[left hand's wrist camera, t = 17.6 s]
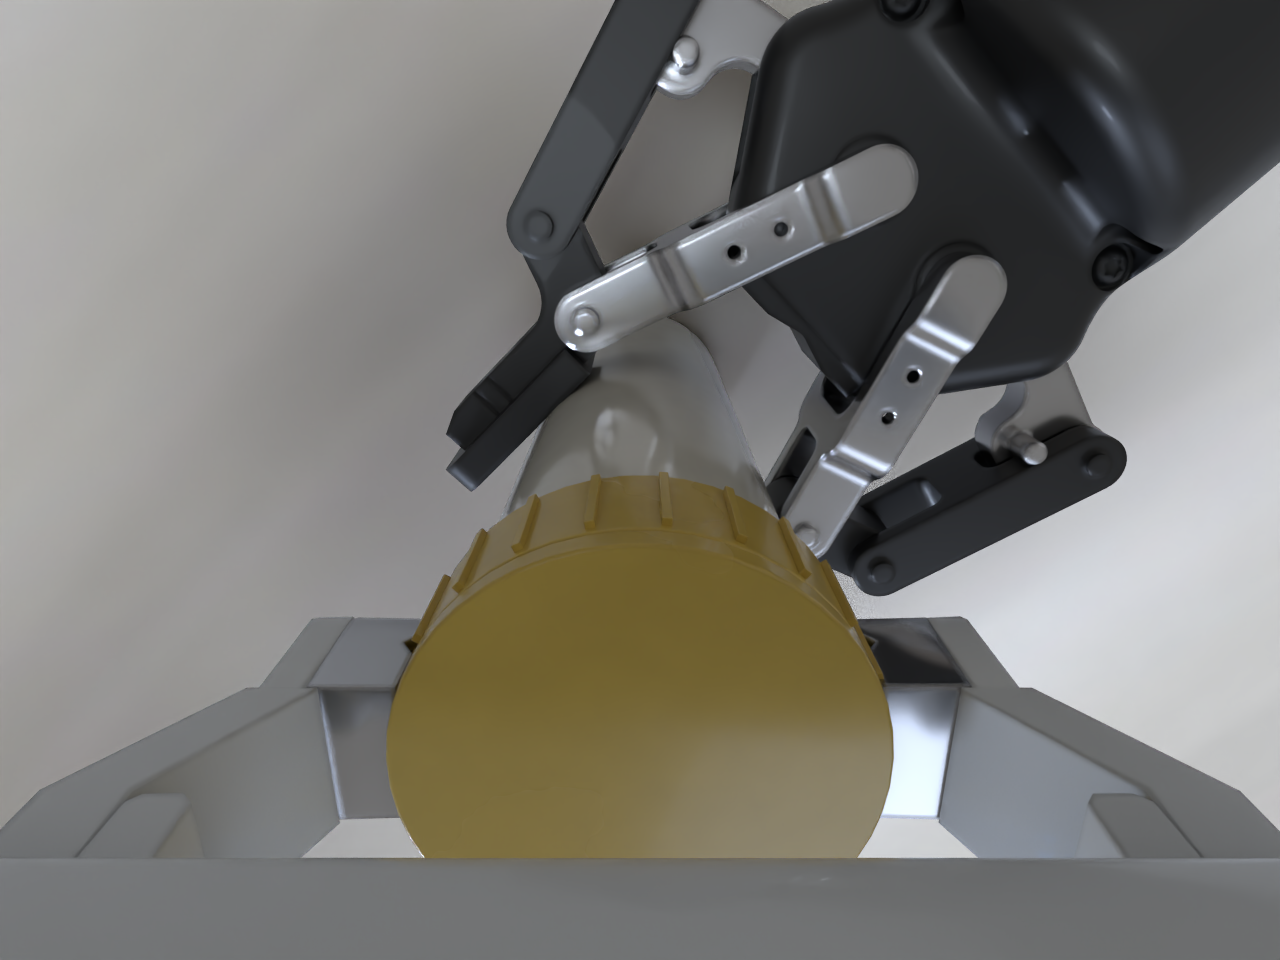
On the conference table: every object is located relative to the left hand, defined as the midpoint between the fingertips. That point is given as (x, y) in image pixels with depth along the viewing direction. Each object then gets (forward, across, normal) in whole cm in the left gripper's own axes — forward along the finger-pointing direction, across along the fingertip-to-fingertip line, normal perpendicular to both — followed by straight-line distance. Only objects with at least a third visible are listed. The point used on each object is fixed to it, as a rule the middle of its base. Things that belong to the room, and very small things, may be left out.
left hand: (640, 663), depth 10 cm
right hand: (+8, -2, -2) cm, 8 cm away
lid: (-2, 0, 0) cm, 2 cm away
